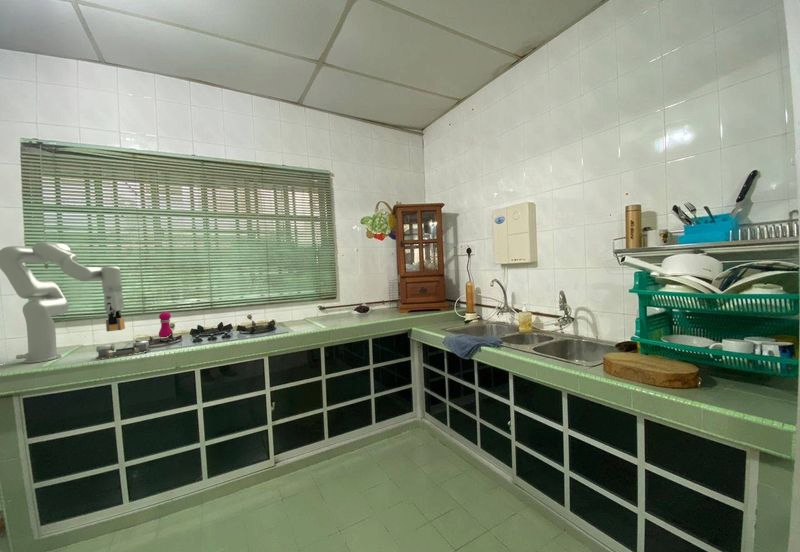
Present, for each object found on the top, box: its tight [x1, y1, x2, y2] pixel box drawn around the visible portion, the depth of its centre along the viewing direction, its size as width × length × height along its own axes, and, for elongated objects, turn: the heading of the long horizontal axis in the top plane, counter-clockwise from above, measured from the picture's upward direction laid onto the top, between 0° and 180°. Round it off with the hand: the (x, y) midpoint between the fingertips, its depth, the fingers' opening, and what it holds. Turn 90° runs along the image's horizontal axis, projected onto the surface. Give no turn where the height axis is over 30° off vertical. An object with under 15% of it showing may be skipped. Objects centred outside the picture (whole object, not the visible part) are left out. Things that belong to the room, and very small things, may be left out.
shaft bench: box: [95, 340, 150, 360], centre depth 164 cm, size 21×10×6 cm, turn 124°
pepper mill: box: [158, 309, 174, 338], centre depth 195 cm, size 7×7×20 cm
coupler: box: [105, 317, 126, 332], centre depth 162 cm, size 6×5×6 cm
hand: (115, 323), depth 162 cm, fingers closed on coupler, 4 cm apart
